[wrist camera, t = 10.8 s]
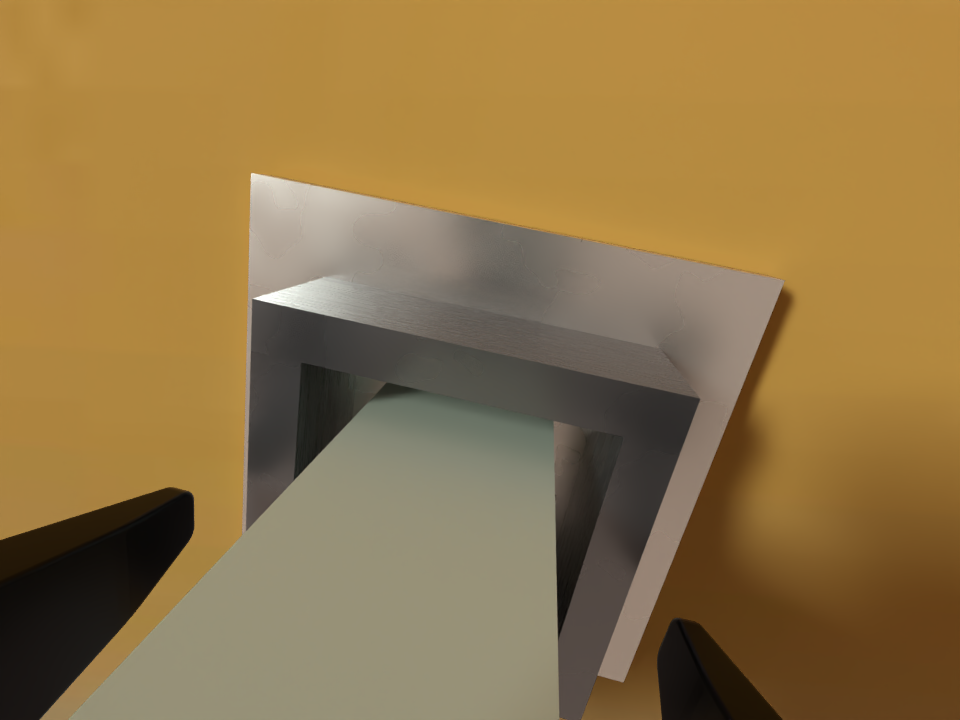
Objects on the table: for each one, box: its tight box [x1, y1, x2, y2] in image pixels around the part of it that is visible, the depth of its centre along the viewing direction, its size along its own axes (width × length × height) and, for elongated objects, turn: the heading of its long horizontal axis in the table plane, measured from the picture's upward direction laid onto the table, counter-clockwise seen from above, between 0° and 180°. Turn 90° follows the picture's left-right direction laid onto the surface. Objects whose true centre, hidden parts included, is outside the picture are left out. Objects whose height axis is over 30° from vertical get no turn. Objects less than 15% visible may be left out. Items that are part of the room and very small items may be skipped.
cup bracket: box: [242, 173, 785, 720], centre depth 11 cm, size 12×12×4 cm
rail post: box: [68, 382, 559, 720], centre depth 8 cm, size 4×4×9 cm
